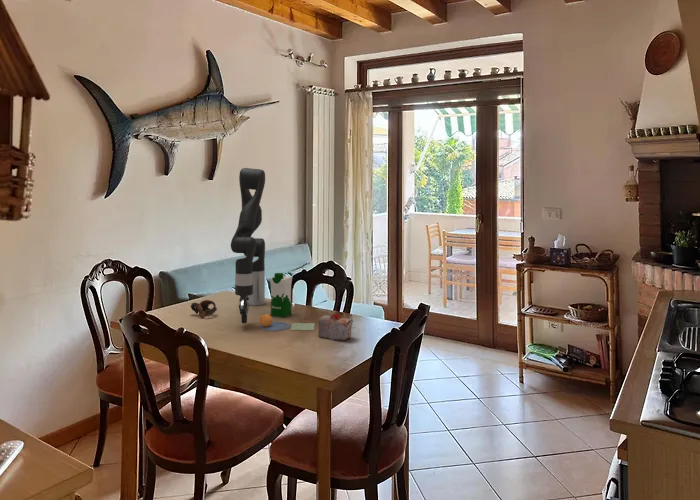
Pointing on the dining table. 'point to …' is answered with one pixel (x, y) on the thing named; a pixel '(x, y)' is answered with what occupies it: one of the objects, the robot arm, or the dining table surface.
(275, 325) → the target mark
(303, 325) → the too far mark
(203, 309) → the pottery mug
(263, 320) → the ball
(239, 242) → the robot arm
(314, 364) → the dining table surface
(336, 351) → the dining table surface
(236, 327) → the dining table surface
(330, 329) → the food item
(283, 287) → the milk carton
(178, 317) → the dining table surface
